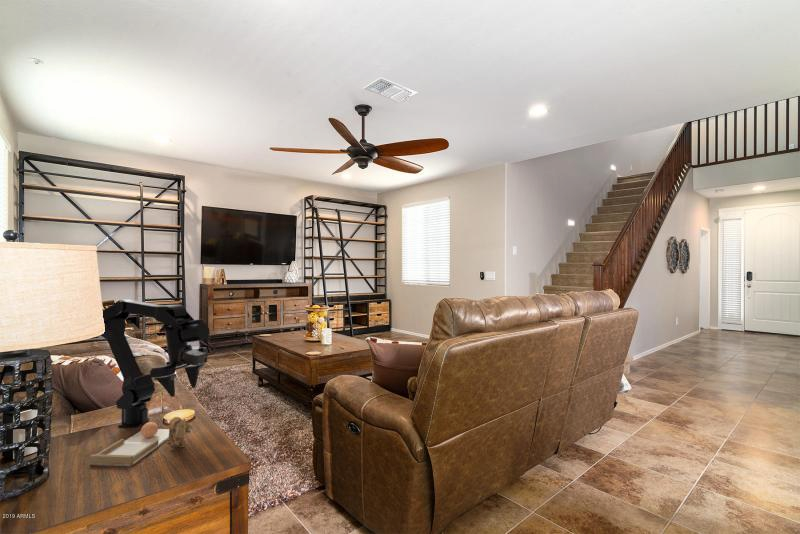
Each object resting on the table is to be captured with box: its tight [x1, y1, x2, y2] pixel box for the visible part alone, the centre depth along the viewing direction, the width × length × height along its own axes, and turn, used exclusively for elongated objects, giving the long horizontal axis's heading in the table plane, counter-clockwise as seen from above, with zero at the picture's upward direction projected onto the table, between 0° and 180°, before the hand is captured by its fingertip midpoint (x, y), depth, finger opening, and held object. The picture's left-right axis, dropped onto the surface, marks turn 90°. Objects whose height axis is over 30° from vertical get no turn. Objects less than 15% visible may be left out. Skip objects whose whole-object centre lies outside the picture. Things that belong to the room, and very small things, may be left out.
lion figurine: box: [166, 416, 194, 452], centre depth 118 cm, size 15×5×9 cm, turn 44°
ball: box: [140, 421, 159, 438], centre depth 121 cm, size 4×4×4 cm
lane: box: [89, 428, 169, 467], centre depth 116 cm, size 11×22×2 cm, turn 179°
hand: (183, 392), depth 129 cm, fingers open, 9 cm apart
